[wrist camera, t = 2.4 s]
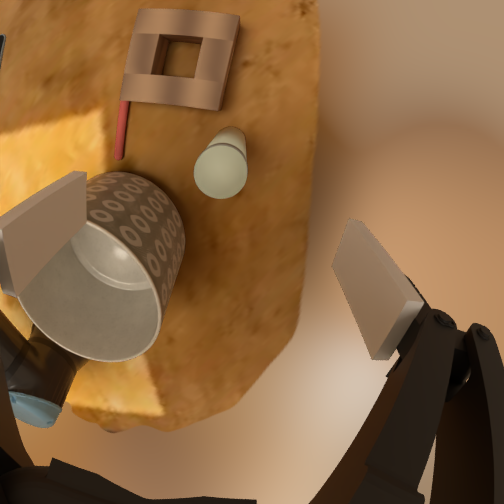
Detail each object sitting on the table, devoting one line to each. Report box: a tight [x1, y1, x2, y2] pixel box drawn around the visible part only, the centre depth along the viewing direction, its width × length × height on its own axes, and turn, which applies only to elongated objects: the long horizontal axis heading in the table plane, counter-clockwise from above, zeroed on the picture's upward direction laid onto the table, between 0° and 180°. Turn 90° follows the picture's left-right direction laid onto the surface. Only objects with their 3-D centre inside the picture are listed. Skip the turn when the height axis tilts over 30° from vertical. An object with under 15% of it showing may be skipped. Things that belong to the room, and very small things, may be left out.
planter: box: [17, 172, 185, 362], centre depth 35 cm, size 19×19×18 cm
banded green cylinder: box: [194, 127, 248, 199], centre depth 30 cm, size 4×4×18 cm
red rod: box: [114, 100, 129, 160], centre depth 35 cm, size 11×1×1 cm, turn 168°
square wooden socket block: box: [120, 9, 240, 111], centre depth 30 cm, size 12×12×5 cm
